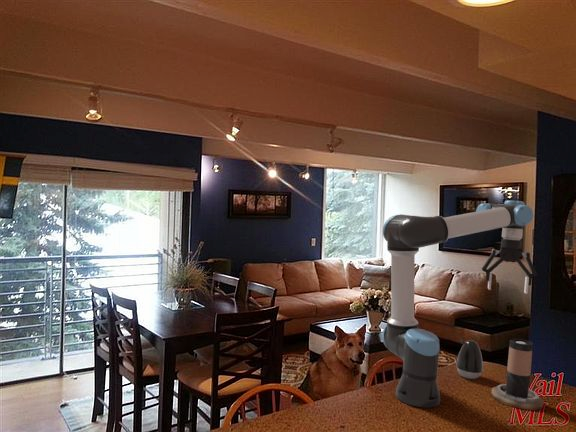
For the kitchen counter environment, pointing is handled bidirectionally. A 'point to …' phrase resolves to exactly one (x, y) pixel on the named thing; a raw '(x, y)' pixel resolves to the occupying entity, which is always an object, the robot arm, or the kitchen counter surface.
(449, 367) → the kitchen counter surface
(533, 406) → the carrier plate
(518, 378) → the travel mug
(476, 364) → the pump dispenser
